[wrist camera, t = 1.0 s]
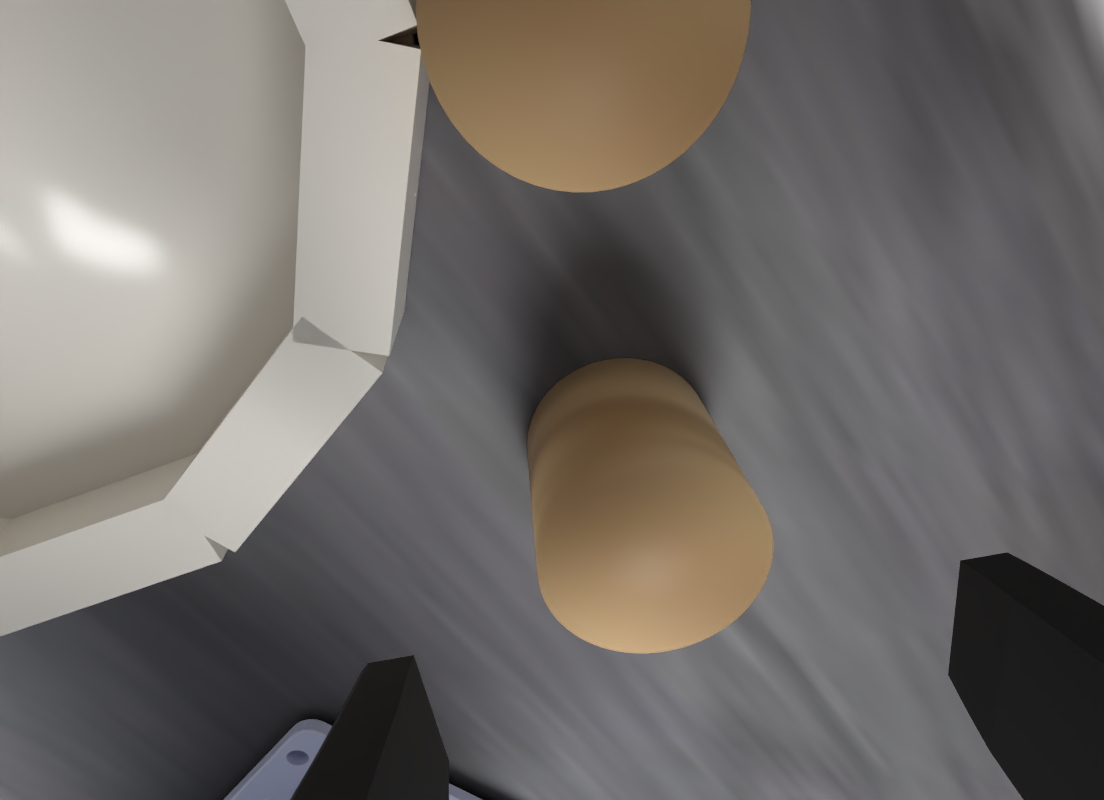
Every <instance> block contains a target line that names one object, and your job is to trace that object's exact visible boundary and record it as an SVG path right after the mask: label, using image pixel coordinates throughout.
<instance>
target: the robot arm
mask: <svg viewBox="0 0 1104 800" xmlns="http://www.w3.org/2000/svg"><path fill="white" fill-rule="evenodd" d="M948 675H949V677H950V679H951V681H952V683H953V685H954V687H955V689H956V690H957V692H958V694H959V696H960V698H961V700H962V702H963V704H964V706H965V707H966V709H967V711H968V713H969V715H970V717H971V719H972V720H973V722H974V724H975V726H976V727H977V729H978V731H979V733H980V734H981V736H982V738H983V740H984V741H985V743H986V745H987V747H988V749H989V750H990V752H991V753H992V755H993V756H994V758H995V759H996V761H997V762H998V764H999V765H1000V766H1001V768H1002V769H1003V771H1004V772H1005V774H1006V775H1007V777H1008V778H1009V779H1010V781H1011V782H1012V784H1013V785H1014V787H1015V788H1016V789H1017V791H1018V792H1019V794H1020V795H1021V797H1022V798H1023V799H1024V800H1104V606H1103V605H1101V604H1100V603H1098V602H1096V601H1094V600H1093V599H1091V598H1089V597H1087V596H1086V595H1084V594H1082V593H1080V592H1078V591H1077V590H1075V589H1073V588H1071V587H1070V586H1068V585H1066V584H1064V583H1062V582H1061V581H1059V580H1057V579H1055V578H1054V577H1052V576H1050V575H1048V574H1046V573H1045V572H1043V571H1041V570H1039V569H1037V568H1035V567H1034V566H1032V565H1030V564H1028V563H1026V562H1024V561H1022V560H1021V559H1019V558H1017V557H1015V556H1013V555H1011V554H1009V553H1002V554H996V555H991V556H985V557H979V558H973V559H967V560H962V561H960V570H959V579H958V589H957V598H956V607H955V617H954V626H953V635H952V645H951V654H950V663H949V673H948ZM297 750H299V751H297ZM223 800H482V799H480V798H478V797H476V796H474V795H472V794H470V793H468V792H466V791H464V790H462V789H460V788H458V787H456V786H454V785H452V784H450V783H449V760H448V757H447V754H446V751H445V748H444V745H443V742H442V739H441V736H440V733H439V730H438V727H437V724H436V721H435V718H434V715H433V712H432V709H431V706H430V703H429V700H428V697H427V694H426V691H425V688H424V685H423V682H422V679H421V676H420V673H419V670H418V667H417V664H416V661H415V658H414V655H413V656H407V657H401V658H396V659H390V660H384V661H378V662H373V663H368V664H367V665H366V667H365V668H364V669H363V670H362V672H361V674H360V676H359V677H358V679H357V681H356V683H355V685H354V687H353V689H352V691H351V692H350V694H349V696H348V698H347V700H346V702H345V704H344V705H343V707H342V709H341V711H340V713H339V715H338V717H337V718H336V720H335V722H334V724H333V726H331V725H329V724H327V723H325V722H323V721H320V720H317V719H307V720H303V721H300V722H299V723H297V724H296V725H294V726H293V727H292V728H291V729H290V730H289V732H288V733H287V734H286V735H285V736H284V737H283V738H282V739H281V740H280V741H279V742H278V743H277V744H276V745H275V746H274V747H273V748H272V749H271V750H270V751H269V752H268V753H267V754H266V756H265V757H264V758H263V759H262V760H261V761H260V762H259V763H258V764H257V765H256V766H255V767H254V768H253V769H252V770H251V771H250V772H249V773H248V774H247V775H246V776H245V777H244V779H243V780H242V781H241V782H240V783H239V784H238V785H237V786H236V787H235V788H234V789H233V790H232V791H231V792H230V793H229V794H228V795H227V796H226V797H225V798H224V799H223Z"/></svg>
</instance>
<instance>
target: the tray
mask: <svg viewBox="0 0 1104 800" xmlns="http://www.w3.org/2000/svg"><path fill="white" fill-rule="evenodd" d="M416 33H417V20H416V0H0V636H3V635H6V634H9V633H12V632H15V631H18V630H21V629H24V628H26V627H29V626H32V625H35V624H38V623H41V622H44V621H47V620H50V619H53V618H56V617H59V616H62V615H65V614H68V613H71V612H74V611H76V610H79V609H82V608H85V607H88V606H91V605H94V604H97V603H100V602H103V601H106V600H109V599H112V598H115V597H118V596H121V595H123V594H126V593H129V592H132V591H135V590H138V589H141V588H144V587H147V586H150V585H153V584H156V583H159V582H162V581H165V580H168V579H171V578H173V577H176V576H179V575H182V574H185V573H188V572H191V571H194V570H197V569H200V568H203V567H206V566H209V565H212V564H215V563H218V562H221V561H222V560H223V558H224V556H225V554H226V552H227V550H228V549H230V550H232V551H233V552H236V551H237V549H238V548H239V547H240V546H241V545H242V543H243V542H244V541H245V540H246V539H247V537H248V536H249V535H250V534H251V532H252V531H253V530H254V529H255V528H256V526H257V525H258V524H259V523H260V521H261V520H262V519H263V518H264V517H265V515H266V514H267V513H268V512H269V511H270V509H271V508H272V507H273V506H274V504H275V503H276V502H277V501H278V500H279V498H280V497H281V496H282V495H283V493H284V492H285V491H286V490H287V489H288V487H289V486H290V485H291V484H292V483H293V481H294V480H295V479H296V478H297V476H298V475H299V474H300V473H301V472H302V470H303V469H304V468H305V467H306V465H307V464H308V463H309V462H310V461H311V459H312V458H313V457H314V456H315V455H316V453H317V452H318V451H319V450H320V448H321V447H322V446H323V445H324V444H325V442H326V441H327V440H328V439H329V437H330V436H331V435H332V434H333V433H334V431H335V430H336V429H337V428H338V427H339V425H340V424H341V423H342V422H343V420H344V419H345V418H346V417H347V416H348V414H349V413H350V412H351V411H352V409H353V408H354V407H355V406H356V405H357V403H358V402H359V401H360V400H361V399H362V397H363V396H364V395H365V394H366V392H367V391H368V390H369V389H370V388H371V386H372V385H373V384H374V383H375V381H376V380H377V379H378V378H379V377H380V375H381V374H382V373H383V370H384V367H385V364H386V361H387V358H388V356H390V353H391V350H392V347H393V344H394V341H395V338H396V335H397V332H398V329H399V326H400V323H401V320H402V317H403V314H404V310H405V301H406V292H407V282H408V273H409V264H410V255H411V246H412V237H413V228H414V219H415V210H416V201H417V192H418V183H419V173H420V164H421V155H422V146H423V137H424V128H425V119H426V110H427V101H428V92H429V83H430V81H429V78H428V75H427V71H426V68H425V65H424V62H423V59H422V54H421V49H420V46H419V45H415V38H414V34H416Z"/></svg>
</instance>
